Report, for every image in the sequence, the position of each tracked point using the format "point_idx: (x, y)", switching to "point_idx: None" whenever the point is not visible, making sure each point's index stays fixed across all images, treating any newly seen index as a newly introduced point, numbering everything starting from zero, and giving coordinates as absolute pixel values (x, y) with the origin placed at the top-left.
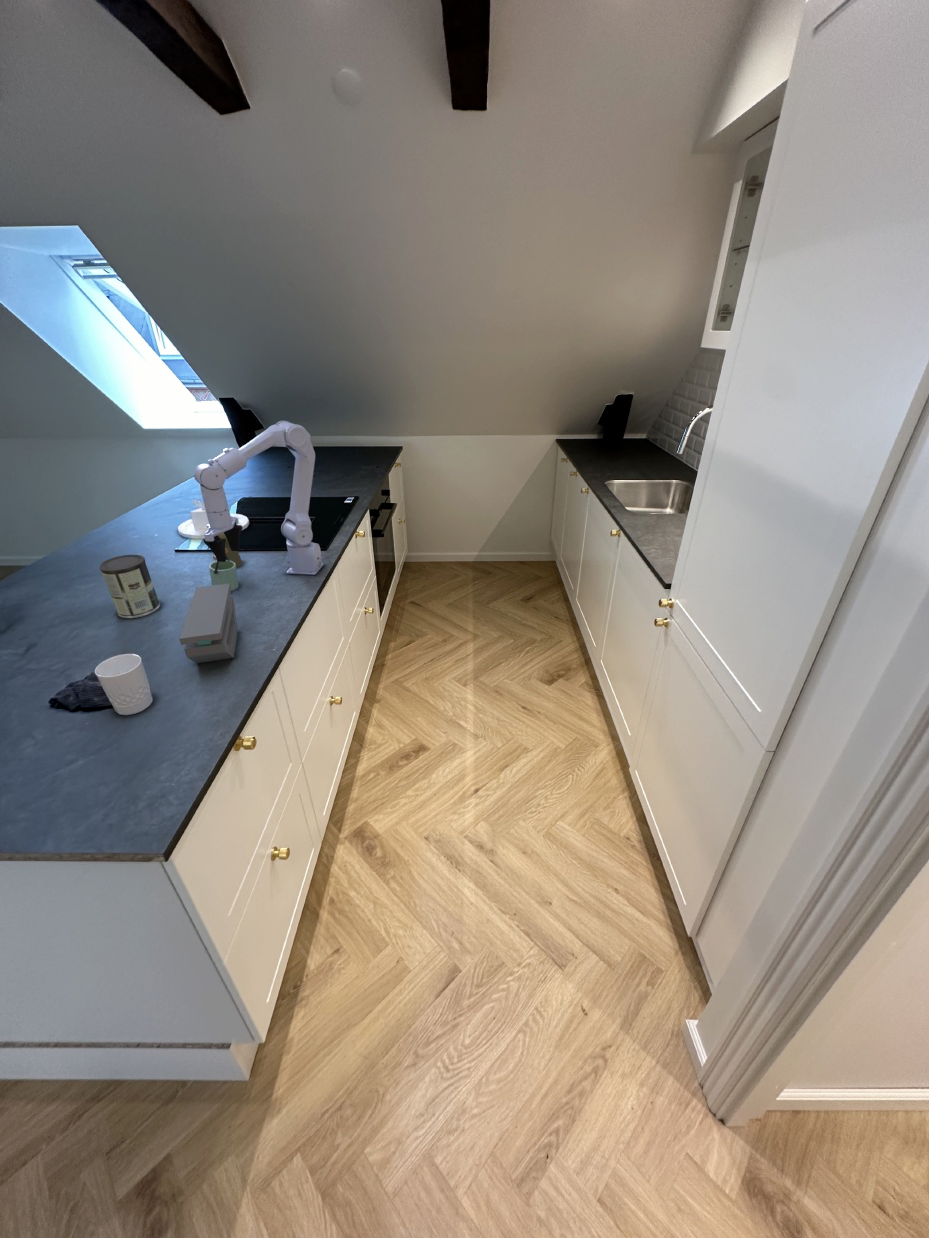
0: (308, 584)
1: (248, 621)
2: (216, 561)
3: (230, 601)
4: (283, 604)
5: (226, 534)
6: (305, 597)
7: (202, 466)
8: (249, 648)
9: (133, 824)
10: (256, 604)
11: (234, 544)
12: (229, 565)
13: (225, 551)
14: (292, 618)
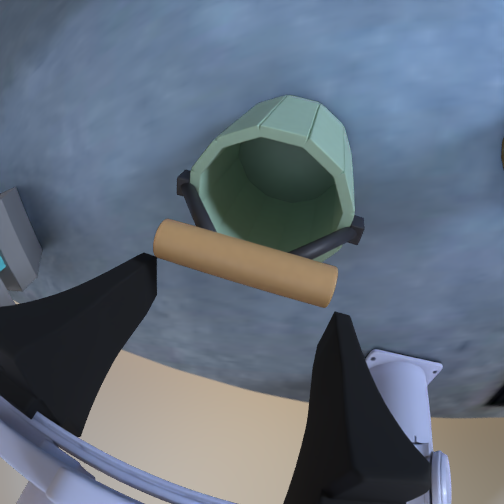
0: (279, 385)
1: (80, 265)
2: (324, 163)
3: (9, 287)
4: (164, 334)
5: (334, 429)
6: (203, 373)
7: None
8: None
9: None
10: None
11: (320, 375)
12: (334, 220)
13: (282, 294)
14: None
